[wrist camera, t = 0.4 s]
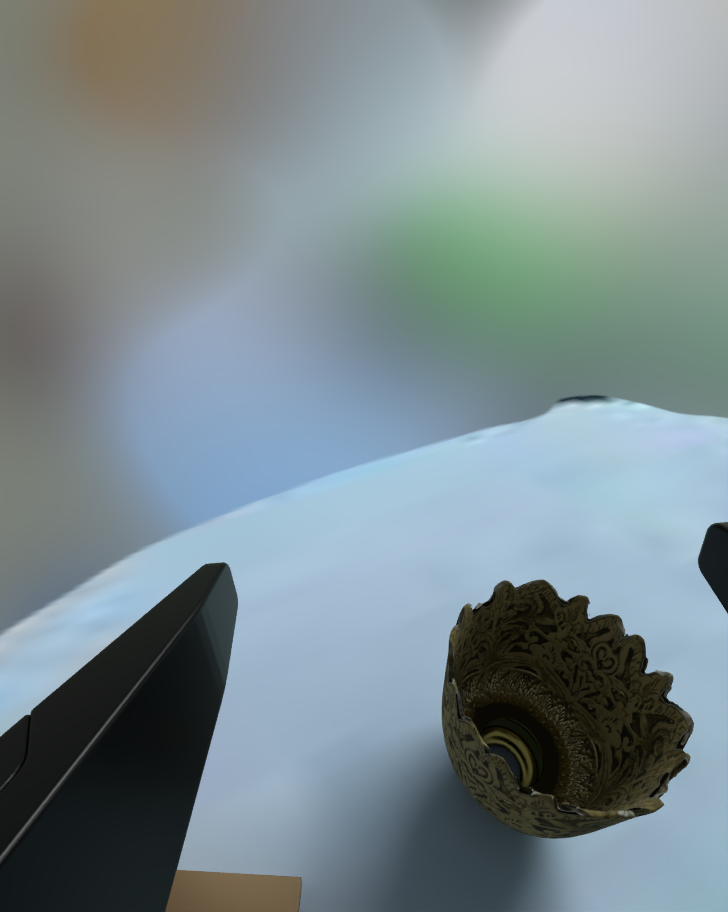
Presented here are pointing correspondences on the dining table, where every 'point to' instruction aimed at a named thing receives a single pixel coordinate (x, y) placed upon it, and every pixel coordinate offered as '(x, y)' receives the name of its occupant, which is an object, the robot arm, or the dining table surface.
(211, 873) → the post board
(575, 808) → the cup
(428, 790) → the dining table surface
